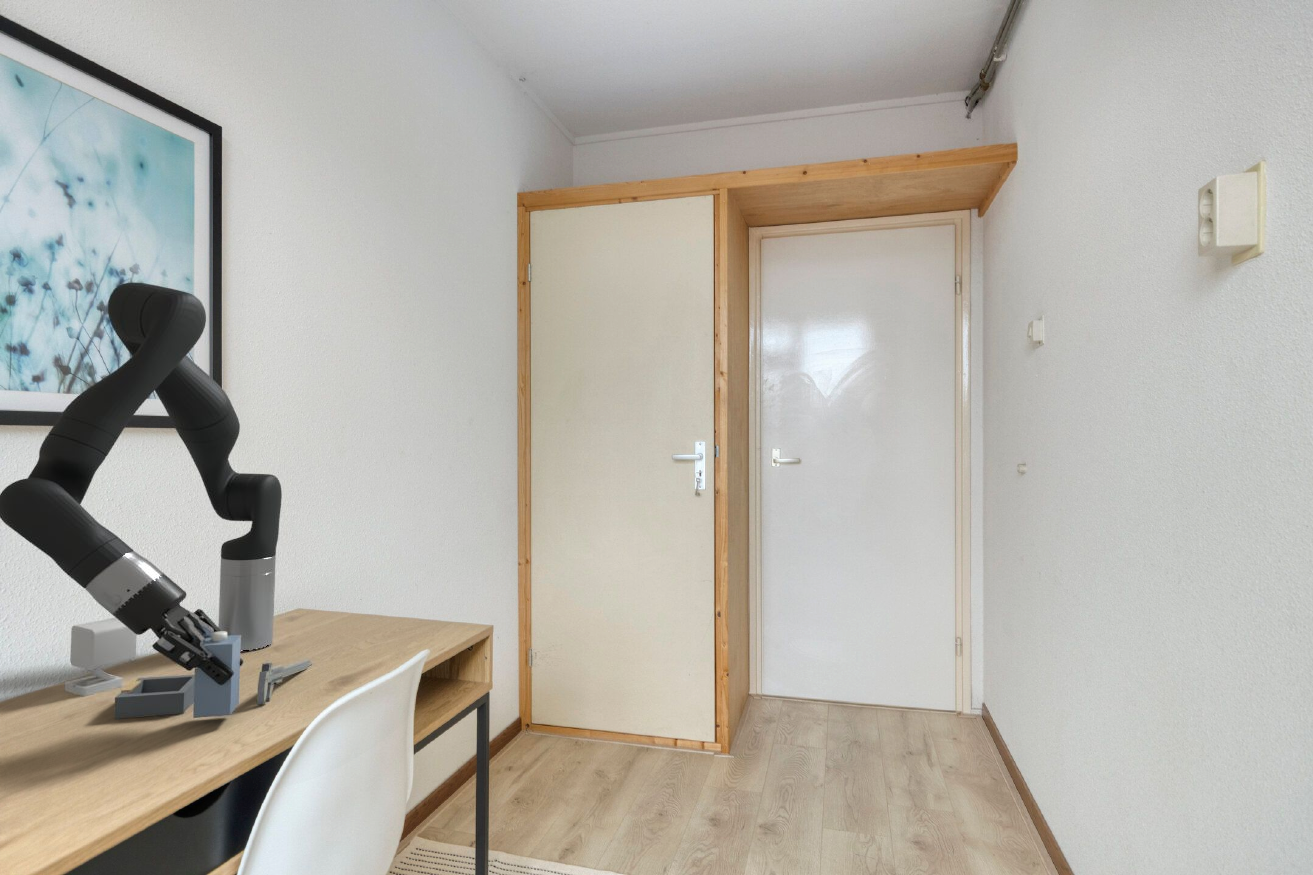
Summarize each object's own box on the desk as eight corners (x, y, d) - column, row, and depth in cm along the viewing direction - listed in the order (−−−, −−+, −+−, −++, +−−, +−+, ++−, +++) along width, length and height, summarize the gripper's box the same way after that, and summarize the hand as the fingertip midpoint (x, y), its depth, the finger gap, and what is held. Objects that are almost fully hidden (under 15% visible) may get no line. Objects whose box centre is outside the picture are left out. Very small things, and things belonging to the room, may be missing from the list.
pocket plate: (113, 718, 100) (114, 695, 100) (137, 697, 108) (138, 676, 108) (183, 713, 102) (184, 691, 102) (201, 693, 110) (202, 672, 110)
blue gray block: (193, 717, 97) (195, 638, 97) (203, 705, 101) (205, 629, 101) (230, 715, 98) (232, 636, 98) (238, 703, 103) (241, 628, 103)
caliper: (264, 708, 106) (265, 666, 106) (256, 708, 106) (258, 666, 106) (312, 665, 126) (313, 630, 126) (306, 665, 126) (307, 630, 126)
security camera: (135, 683, 114) (137, 621, 114) (85, 697, 107) (87, 631, 107) (112, 676, 116) (115, 616, 116) (62, 689, 110) (65, 626, 110)
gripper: (139, 583, 91) (242, 670, 94) (177, 563, 104) (266, 639, 108) (88, 626, 89) (195, 712, 93) (134, 600, 103) (225, 676, 106)
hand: (233, 673), depth 100 cm, fingers closed on blue gray block, 4 cm apart
